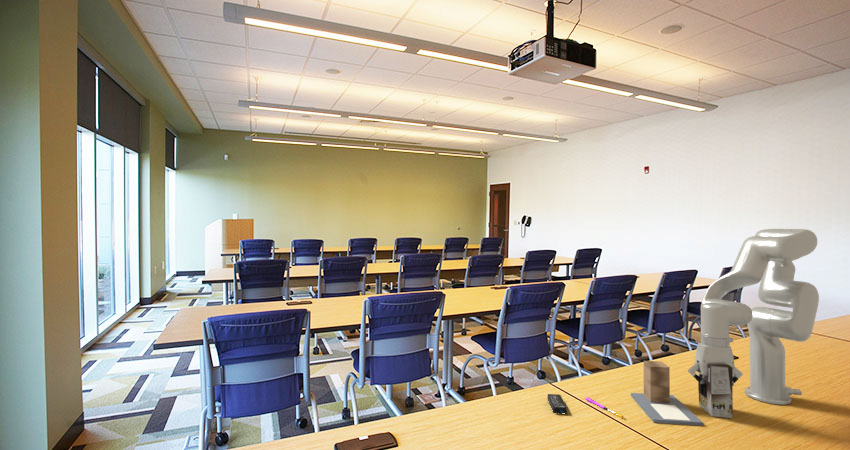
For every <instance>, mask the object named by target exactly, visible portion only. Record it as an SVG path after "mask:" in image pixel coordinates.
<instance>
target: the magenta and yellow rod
mask: <svg viewBox="0 0 850 450" xmlns="http://www.w3.org/2000/svg"><path fill="white" fill-rule="evenodd" d="M586 400H587V401H586ZM594 400H595V399H593V400H592V398H590V397H585V401H586V402H588V403H591V404H592V403H593V405H594V404H595V405H594V406H596V405H597V406H596V407H598V406H599V407H598V408H600V409H603V410H605V411H608V412H611V413H612V415H614V416H615V417H618V418H620V419H623V420H626V419H627V418H626V417H624V415H622V414H620V413H618V412H617V411H615V410H613V411H612V410H609V409H608V408H607V407H606V406H604V405H603V404H601V403H599V402H597V401H596V400H595V401H594Z"/></svg>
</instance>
